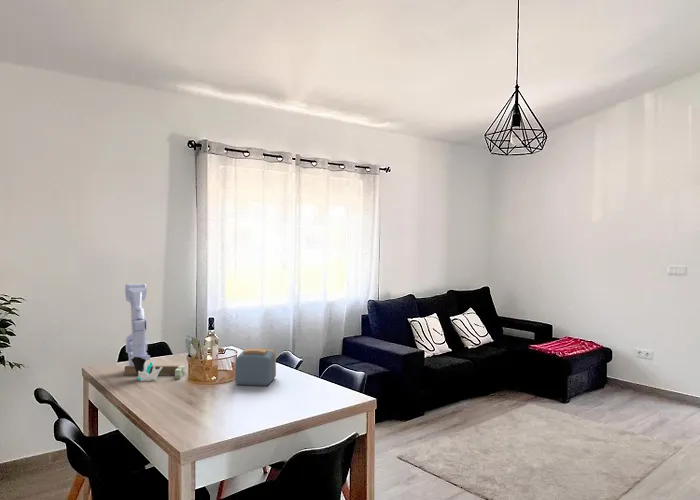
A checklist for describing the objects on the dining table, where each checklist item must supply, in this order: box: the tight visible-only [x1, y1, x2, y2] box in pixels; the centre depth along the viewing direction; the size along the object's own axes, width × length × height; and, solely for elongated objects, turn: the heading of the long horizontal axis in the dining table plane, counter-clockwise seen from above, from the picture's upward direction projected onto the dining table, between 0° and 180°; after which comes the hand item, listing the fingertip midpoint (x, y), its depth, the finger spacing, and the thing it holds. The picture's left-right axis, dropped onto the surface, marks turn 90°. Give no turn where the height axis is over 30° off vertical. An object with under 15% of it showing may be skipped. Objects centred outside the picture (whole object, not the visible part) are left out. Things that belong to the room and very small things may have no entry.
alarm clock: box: [234, 347, 277, 387], centre depth 253 cm, size 16×16×16 cm
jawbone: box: [137, 361, 162, 382], centre depth 255 cm, size 12×8×9 cm, turn 47°
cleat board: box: [124, 365, 186, 380], centre depth 260 cm, size 10×28×4 cm, turn 94°
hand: (139, 372), depth 257 cm, fingers closed
